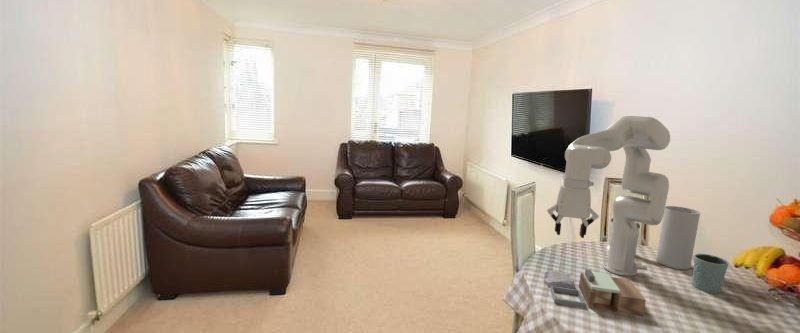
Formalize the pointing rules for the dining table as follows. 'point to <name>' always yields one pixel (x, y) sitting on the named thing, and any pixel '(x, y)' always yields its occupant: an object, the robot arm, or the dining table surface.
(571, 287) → the stone block
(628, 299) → the brown open box
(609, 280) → the sliding lid
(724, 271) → the teal plant pot
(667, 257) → the cylinder vase
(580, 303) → the gray tray
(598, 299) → the birch block
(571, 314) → the dining table surface
